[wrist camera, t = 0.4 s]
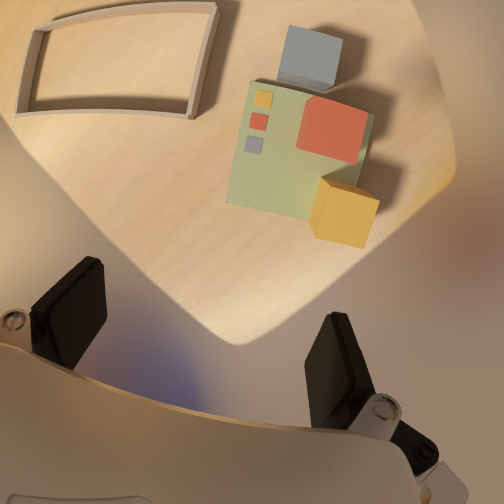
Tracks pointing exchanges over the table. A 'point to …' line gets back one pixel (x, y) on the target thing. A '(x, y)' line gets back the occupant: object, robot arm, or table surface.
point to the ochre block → (342, 213)
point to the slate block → (309, 58)
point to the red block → (331, 129)
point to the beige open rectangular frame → (119, 11)
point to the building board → (282, 156)
